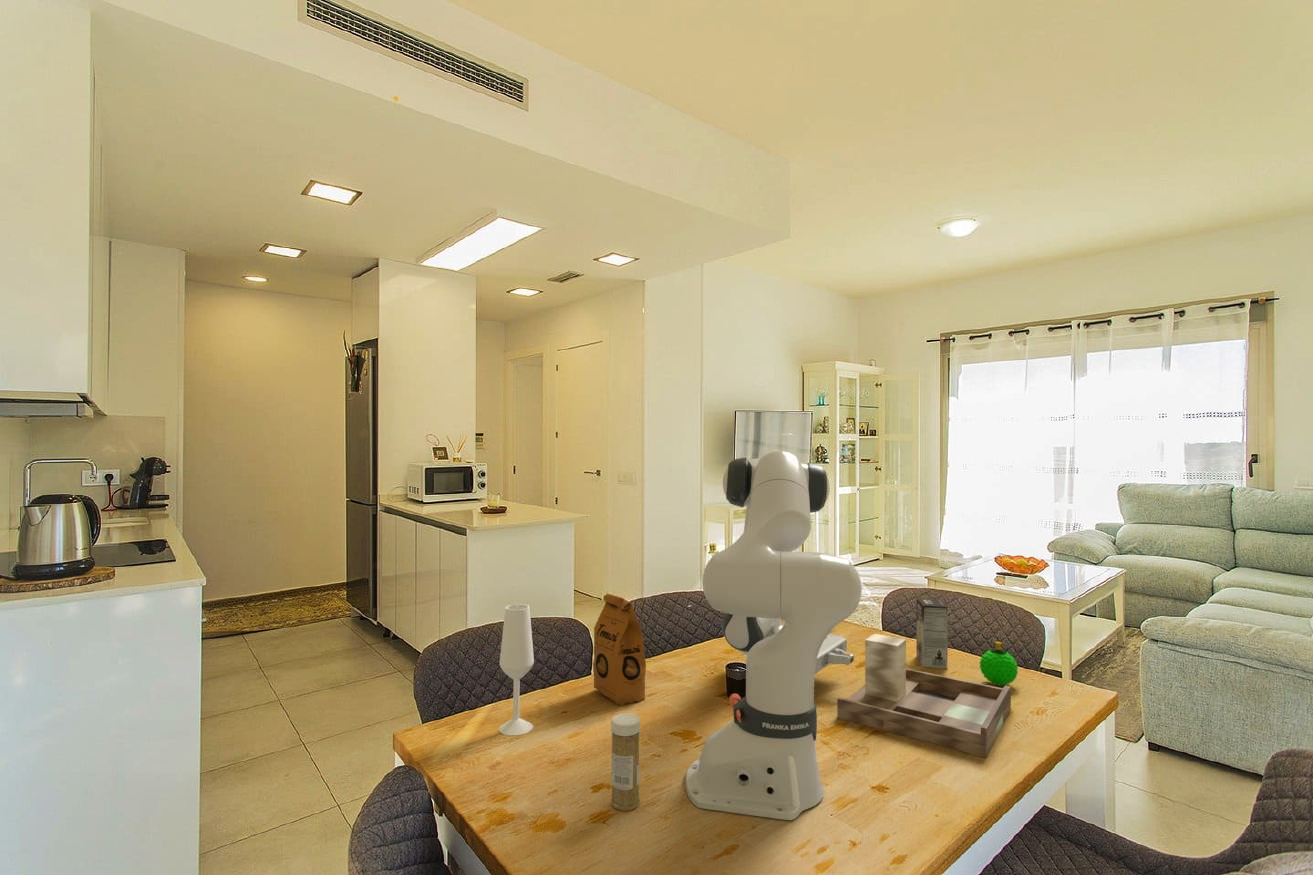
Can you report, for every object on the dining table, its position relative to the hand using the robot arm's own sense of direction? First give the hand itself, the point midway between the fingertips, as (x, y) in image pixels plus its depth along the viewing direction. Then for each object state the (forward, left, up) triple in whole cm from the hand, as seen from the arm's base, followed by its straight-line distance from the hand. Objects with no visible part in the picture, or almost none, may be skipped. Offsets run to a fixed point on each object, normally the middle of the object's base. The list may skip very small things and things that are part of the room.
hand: (851, 659), depth 147 cm
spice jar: (-48, -47, -8) cm, 68 cm away
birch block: (+6, -5, -6) cm, 10 cm away
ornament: (+37, +9, -8) cm, 39 cm away
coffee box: (+27, +24, -8) cm, 37 cm away
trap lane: (+13, -9, -8) cm, 18 cm away
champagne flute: (-72, -21, -8) cm, 75 cm away
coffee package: (-53, -3, -8) cm, 54 cm away
